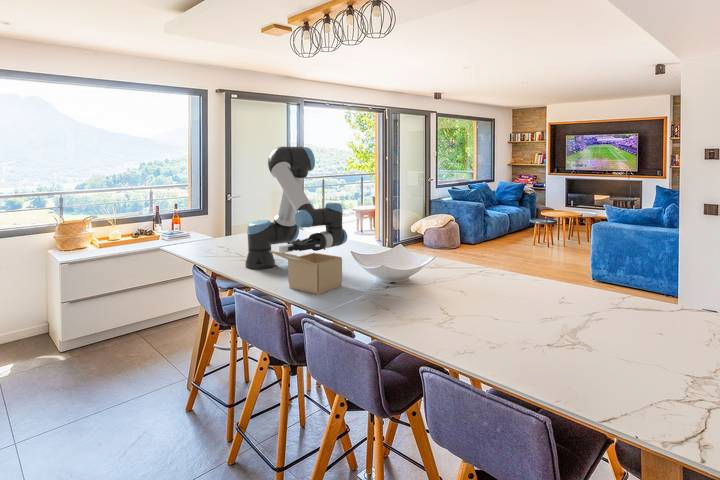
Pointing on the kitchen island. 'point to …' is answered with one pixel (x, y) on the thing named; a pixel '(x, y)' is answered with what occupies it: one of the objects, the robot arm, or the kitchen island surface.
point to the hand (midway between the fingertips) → (280, 249)
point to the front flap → (292, 257)
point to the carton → (315, 273)
